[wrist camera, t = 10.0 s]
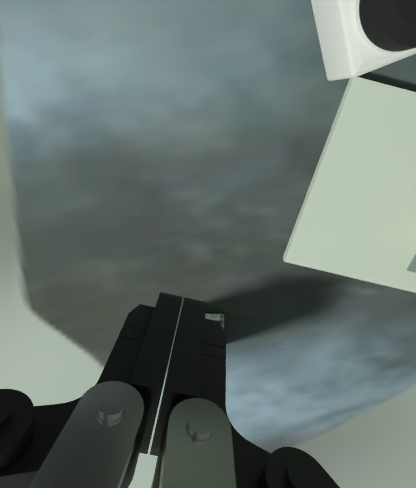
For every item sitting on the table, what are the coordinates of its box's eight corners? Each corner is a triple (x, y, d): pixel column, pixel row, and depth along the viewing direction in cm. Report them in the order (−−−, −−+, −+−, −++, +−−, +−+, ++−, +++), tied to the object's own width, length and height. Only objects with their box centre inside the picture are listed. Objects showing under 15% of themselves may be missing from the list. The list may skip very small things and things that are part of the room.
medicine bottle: (405, 51, 30) (507, 25, 19) (326, 82, 31) (379, 75, 20) (394, -41, 27) (505, -134, 16) (309, -3, 28) (359, -64, 18)
